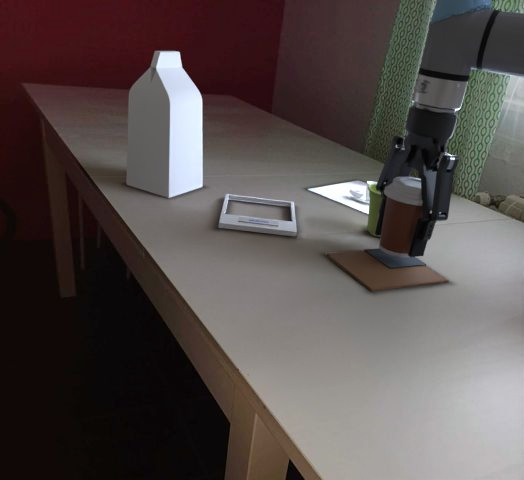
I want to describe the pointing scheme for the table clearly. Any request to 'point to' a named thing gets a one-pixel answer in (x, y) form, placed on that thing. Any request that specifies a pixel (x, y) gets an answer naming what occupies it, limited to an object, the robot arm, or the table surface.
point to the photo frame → (258, 223)
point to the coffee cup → (401, 215)
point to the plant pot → (373, 209)
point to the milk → (165, 129)
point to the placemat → (385, 269)
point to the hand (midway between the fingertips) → (398, 244)
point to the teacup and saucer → (360, 193)
